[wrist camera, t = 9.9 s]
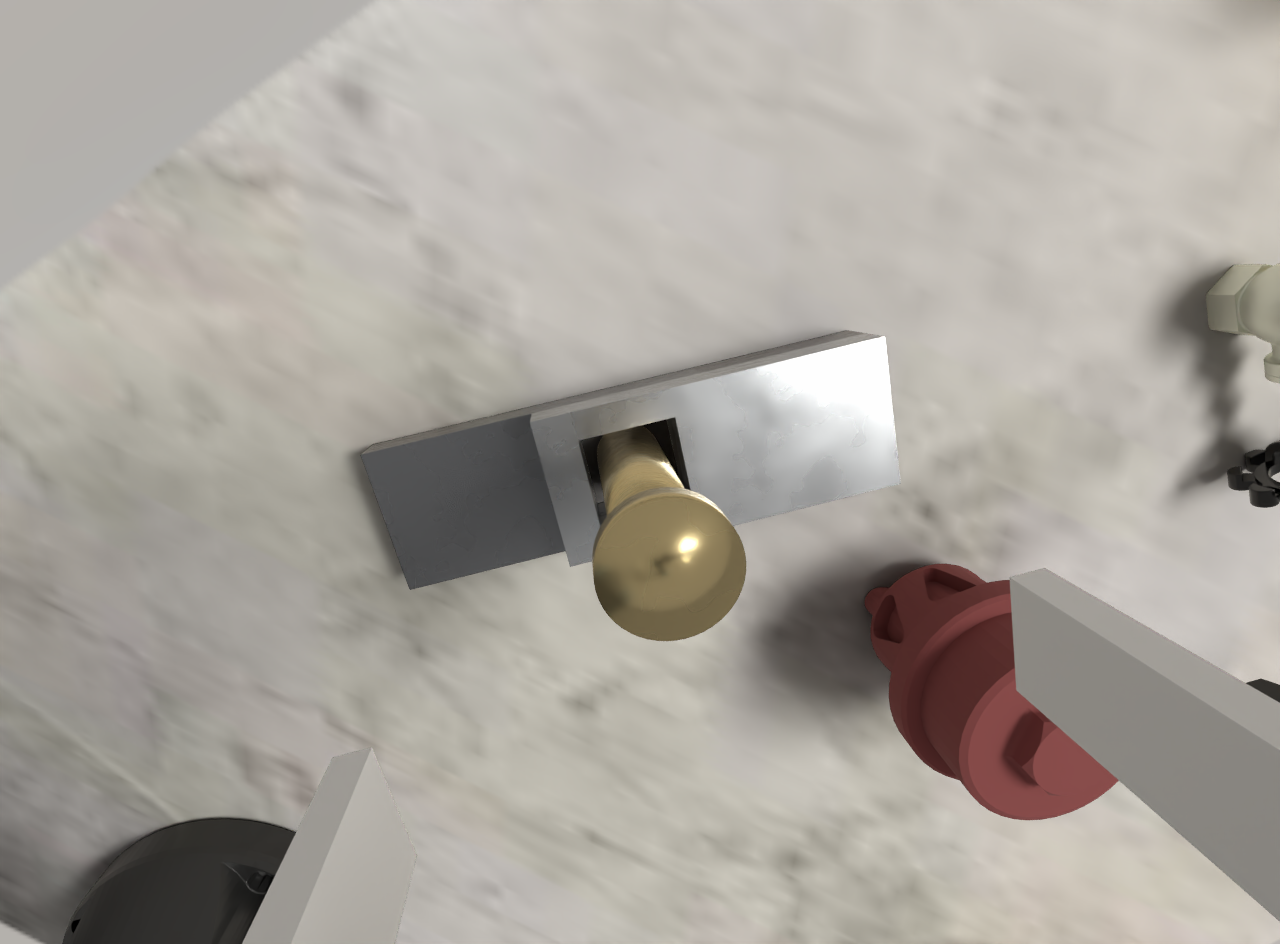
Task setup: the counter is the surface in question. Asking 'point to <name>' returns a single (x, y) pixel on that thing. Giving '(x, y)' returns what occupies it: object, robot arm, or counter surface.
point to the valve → (1276, 313)
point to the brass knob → (660, 545)
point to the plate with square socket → (688, 399)
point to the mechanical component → (974, 696)
